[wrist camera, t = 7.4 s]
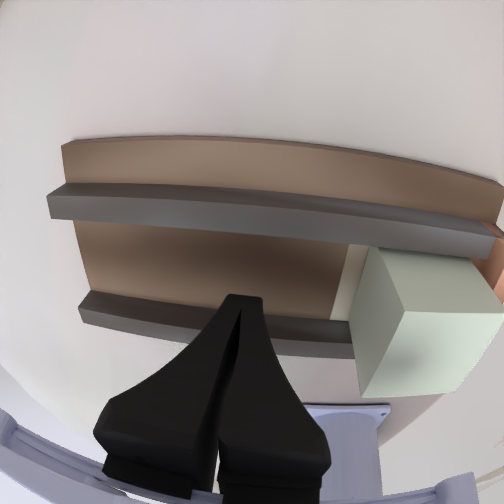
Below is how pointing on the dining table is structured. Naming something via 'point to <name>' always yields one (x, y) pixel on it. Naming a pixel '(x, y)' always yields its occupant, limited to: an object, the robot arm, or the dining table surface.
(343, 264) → the chute
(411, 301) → the sage block
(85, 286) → the dining table surface
